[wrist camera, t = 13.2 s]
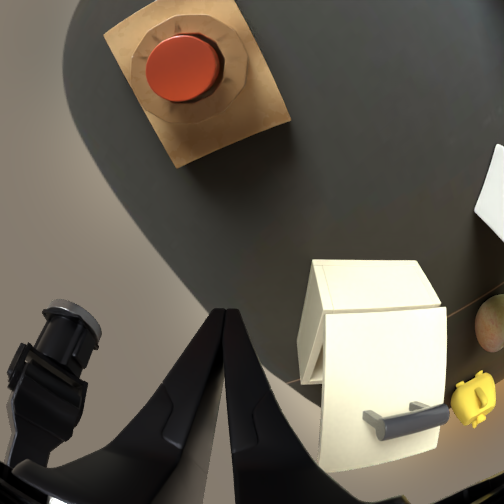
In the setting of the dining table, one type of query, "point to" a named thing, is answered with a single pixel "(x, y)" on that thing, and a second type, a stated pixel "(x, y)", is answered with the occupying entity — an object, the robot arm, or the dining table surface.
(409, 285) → the box
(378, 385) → the lid
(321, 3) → the dining table surface
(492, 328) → the fruit
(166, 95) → the switch button
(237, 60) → the switch base
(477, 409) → the teapot
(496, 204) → the milk carton
